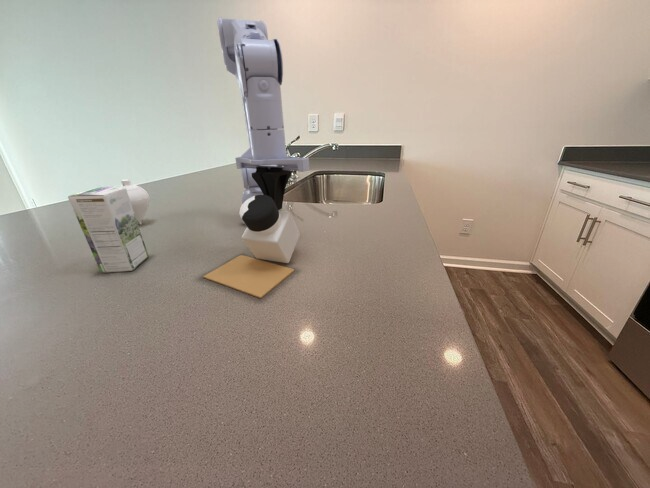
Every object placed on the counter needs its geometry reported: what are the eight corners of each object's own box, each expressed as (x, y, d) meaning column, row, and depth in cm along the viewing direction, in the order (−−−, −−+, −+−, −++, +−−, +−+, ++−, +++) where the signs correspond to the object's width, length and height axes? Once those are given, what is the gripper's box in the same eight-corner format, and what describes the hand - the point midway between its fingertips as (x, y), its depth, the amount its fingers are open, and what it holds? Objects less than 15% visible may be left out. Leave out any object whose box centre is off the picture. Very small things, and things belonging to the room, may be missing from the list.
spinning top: (163, 219, 73) (150, 176, 68) (143, 230, 66) (127, 183, 61) (138, 219, 74) (123, 176, 68) (116, 229, 67) (97, 183, 62)
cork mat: (203, 277, 45) (203, 276, 45) (241, 255, 52) (241, 254, 52) (261, 298, 39) (260, 297, 39) (294, 270, 46) (294, 269, 46)
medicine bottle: (301, 234, 52) (282, 190, 43) (288, 264, 48) (265, 223, 39) (270, 230, 54) (245, 188, 45) (256, 259, 51) (226, 219, 41)
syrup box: (120, 258, 52) (90, 187, 46) (150, 256, 52) (125, 185, 46) (100, 273, 47) (64, 195, 41) (134, 271, 47) (103, 193, 41)
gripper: (216, 131, 42) (231, 211, 48) (288, 128, 36) (296, 220, 41) (247, 130, 48) (257, 201, 54) (314, 128, 42) (317, 209, 47)
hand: (275, 209), depth 48 cm, fingers closed, pressing on medicine bottle
